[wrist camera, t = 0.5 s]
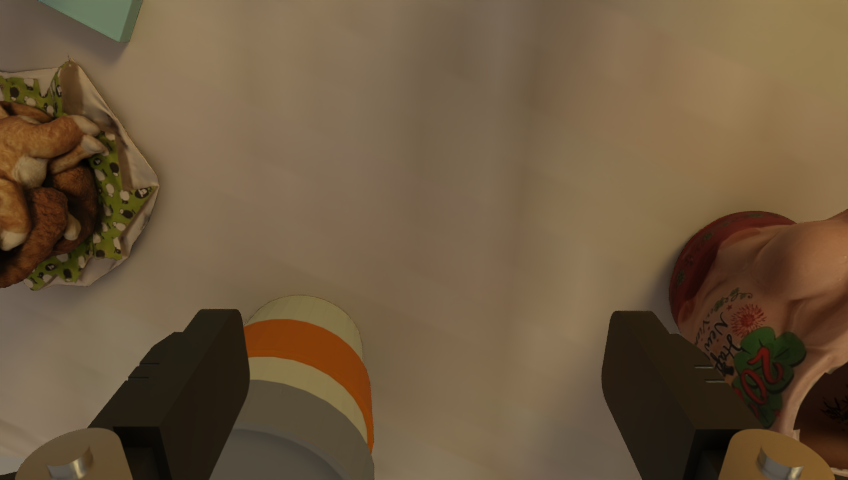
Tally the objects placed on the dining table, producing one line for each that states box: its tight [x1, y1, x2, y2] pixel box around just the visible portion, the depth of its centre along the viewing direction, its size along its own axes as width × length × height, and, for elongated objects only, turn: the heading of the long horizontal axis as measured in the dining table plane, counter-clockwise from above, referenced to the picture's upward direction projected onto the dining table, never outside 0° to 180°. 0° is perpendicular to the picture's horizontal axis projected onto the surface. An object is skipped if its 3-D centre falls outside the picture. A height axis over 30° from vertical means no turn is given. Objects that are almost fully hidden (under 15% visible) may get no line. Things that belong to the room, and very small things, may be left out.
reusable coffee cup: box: [209, 295, 374, 480], centre depth 34 cm, size 13×13×15 cm
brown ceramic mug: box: [669, 209, 848, 477], centre depth 33 cm, size 20×12×14 cm, turn 174°
